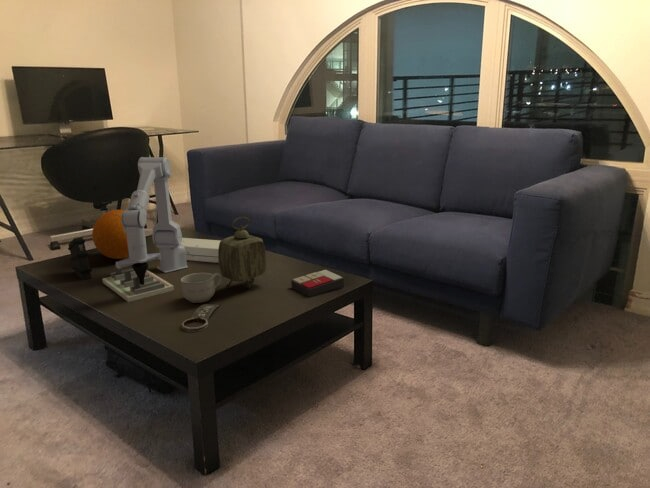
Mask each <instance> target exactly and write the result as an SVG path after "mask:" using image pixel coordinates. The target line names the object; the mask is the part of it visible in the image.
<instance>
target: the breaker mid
mask: <svg viewBox="0 0 650 488" xmlns="http://www.w3.org/2000/svg"><path fill="white" fill-rule="evenodd" d="M124 270H125V271H124V275H125V282H128V281H132V280H131V272H130V270H127V269H124Z"/></svg>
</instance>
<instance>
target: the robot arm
mask: <svg viewBox="0 0 650 488" xmlns="http://www.w3.org/2000/svg"><path fill="white" fill-rule="evenodd" d="M137 169H138V173H139V178H138V179H139V180H138V184H137V188H136V190H134V191H133V192H132V193H131V197H130V200H129V202H128V205H127V208H126V209H125V211H123V213H122V216H121V223H122V225H123V227H124V231H125V233H126V235H127V243H128V251H129V257H128V258H125V259H120V260H117V261H115V264H116V267H117V268H118V269H121V270H122V268H126V267H129V266H130V267H131V269H132V268H133V269H134V271H135V273H136V274H137V276H138V277H139V280H140V284H141V285H144V277H145V273H146V271H147V270H148V268H149V263H148V262H153V261H157V260H158V261H159V263H160V265H158V266H156V269H158V270H160V271H161V272H162V273H165V274H166V273H171V272H175V271H179V270H184V269H187V268H189V266H188V262H187V261H188V260H186V251H185V248H184V246H183V245H182V244H181V242H182V238H183V232H182V229H181V225H180V224H179V223H177V222H176V221H173V220H172V210H171V198H170V189H169V179H170V178H172V167H171V161H170V160H169V158H168V157H166V156H164V157H162V156H161V157H160V156H159V157H157V156H156V157H155V156H154V157H153V156H152V157H148V156H145V157H144V156H140V158H139V159H138V161H137ZM152 185H154V195H155V204H156V213H157V221H158V222H157V223H156V224H155V225H154V226H153V227H152V238H151V240H152V242H153V245H154V246H156V248H158V252H155V253H154V252H153V253H148V249H147V242H146V241H147V240H146V229H145V226H146V225H147V220H148V219H147V216H148V212H147V209H148V205H149V202H150V199H151V198H150V195H149V191H150V190H151V187H152ZM144 229H145V230H144Z"/></svg>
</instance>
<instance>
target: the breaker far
mask: <svg viewBox="0 0 650 488" xmlns="http://www.w3.org/2000/svg"><path fill="white" fill-rule="evenodd" d="M122 271H123V270H122V268H121V269H118V268H117V267H116V263H115V264H114V272H116V274H115V276H116V275H120V274H122Z"/></svg>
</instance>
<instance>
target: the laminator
mask: <svg viewBox="0 0 650 488" xmlns="http://www.w3.org/2000/svg"><path fill="white" fill-rule="evenodd" d="M220 241H221V240H219V239H205V238H190V237H182V242H181V244H182V245H183V246H184V248H185V251H186V261H192V262H193V261H195V262H206V263H217V264H219V261H218V249H219V244H220Z"/></svg>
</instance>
